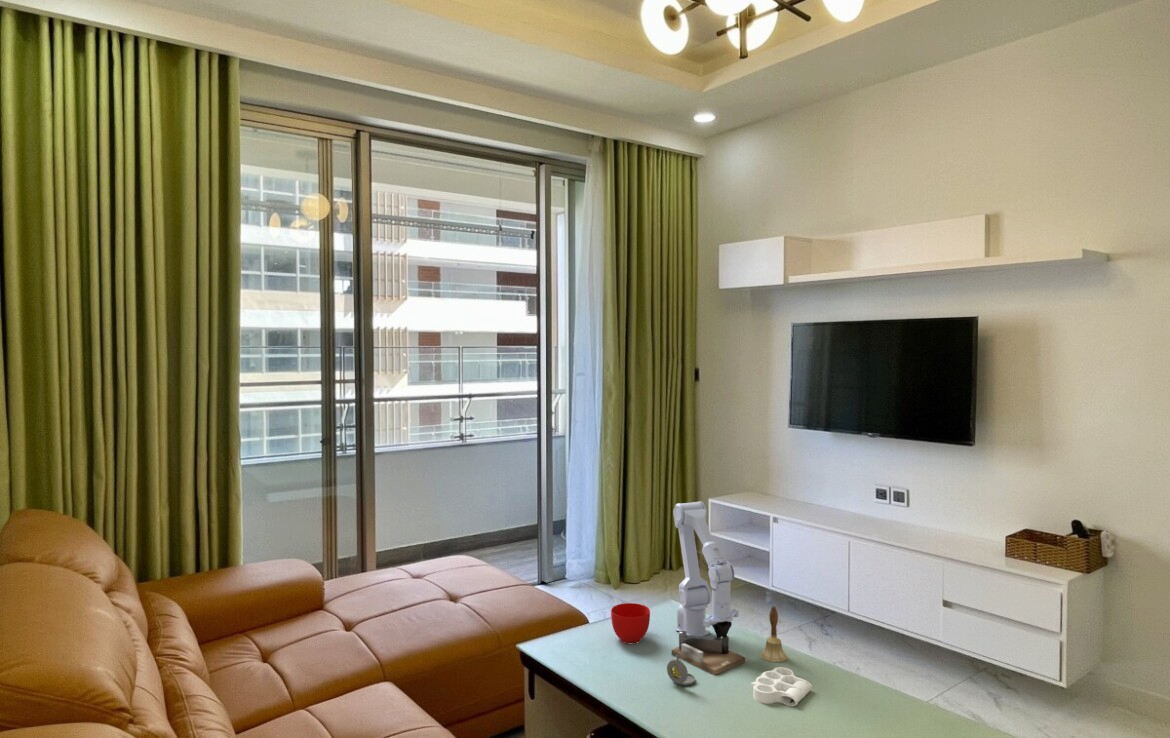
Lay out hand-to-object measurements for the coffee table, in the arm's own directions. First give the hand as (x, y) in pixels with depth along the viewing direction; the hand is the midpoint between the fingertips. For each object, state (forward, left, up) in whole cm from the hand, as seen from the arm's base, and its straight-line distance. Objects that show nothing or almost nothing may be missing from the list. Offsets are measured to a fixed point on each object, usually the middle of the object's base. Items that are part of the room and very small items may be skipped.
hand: (721, 643), depth 225 cm
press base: (0, -6, -3) cm, 7 cm away
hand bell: (+12, +11, -3) cm, 17 cm away
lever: (-2, -6, -1) cm, 6 cm away
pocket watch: (+6, -24, -3) cm, 25 cm away
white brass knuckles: (+27, -6, -4) cm, 28 cm away
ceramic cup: (-26, -14, -3) cm, 30 cm away
